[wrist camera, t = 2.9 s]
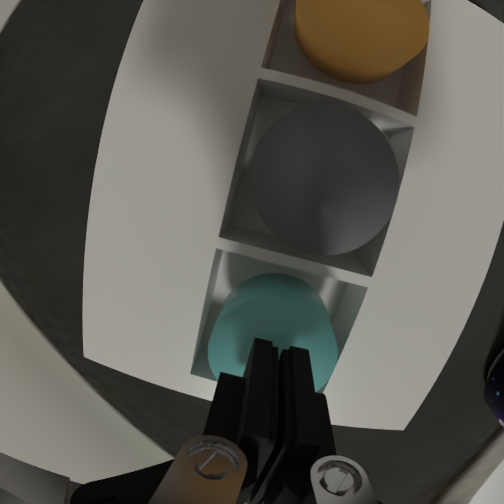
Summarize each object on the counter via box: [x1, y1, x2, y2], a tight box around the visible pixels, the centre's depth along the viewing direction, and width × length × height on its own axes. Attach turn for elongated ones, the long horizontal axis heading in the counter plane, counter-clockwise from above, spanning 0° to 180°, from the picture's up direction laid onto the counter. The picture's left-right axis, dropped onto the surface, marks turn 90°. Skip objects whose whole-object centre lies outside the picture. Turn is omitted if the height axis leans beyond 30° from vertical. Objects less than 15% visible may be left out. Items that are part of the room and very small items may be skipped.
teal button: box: [208, 273, 338, 392], centre depth 11 cm, size 4×4×2 cm
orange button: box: [294, 0, 429, 84], centre depth 8 cm, size 4×4×2 cm
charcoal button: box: [249, 104, 399, 255], centre depth 10 cm, size 4×4×2 cm
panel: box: [83, 0, 504, 430], centre depth 12 cm, size 20×16×3 cm
